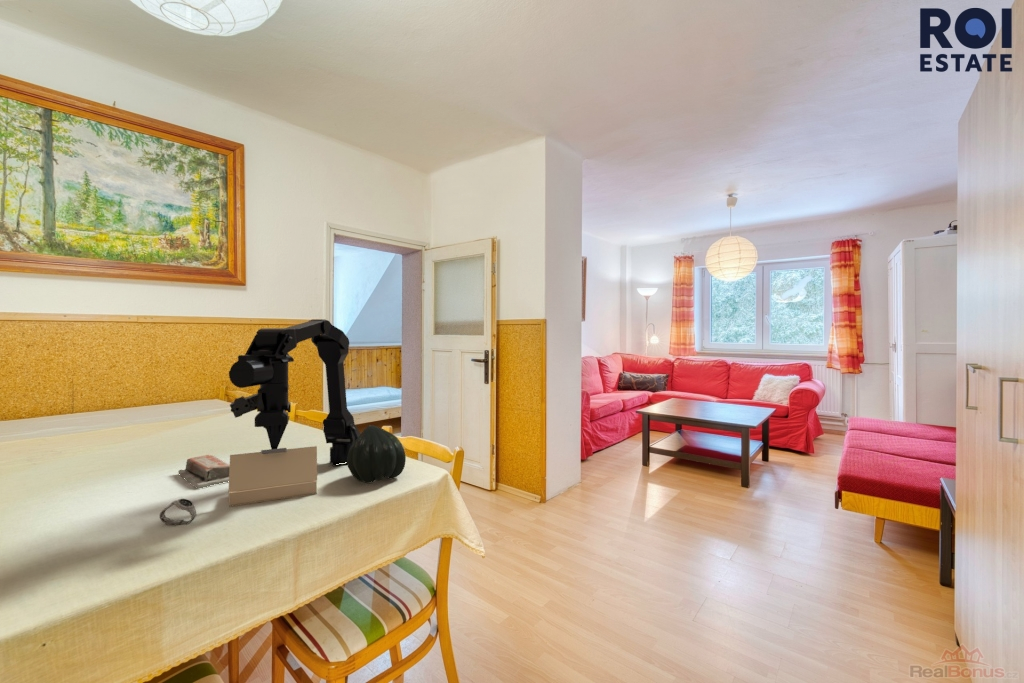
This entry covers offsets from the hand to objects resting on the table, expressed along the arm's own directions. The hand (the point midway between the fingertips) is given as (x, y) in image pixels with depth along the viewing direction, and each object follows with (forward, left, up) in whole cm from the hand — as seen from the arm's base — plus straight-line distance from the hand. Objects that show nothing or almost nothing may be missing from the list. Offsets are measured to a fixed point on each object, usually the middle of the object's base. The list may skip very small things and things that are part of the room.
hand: (274, 449), depth 98 cm
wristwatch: (+17, +4, -13) cm, 22 cm away
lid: (0, -3, -5) cm, 6 cm away
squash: (-24, -7, -13) cm, 28 cm away
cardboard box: (0, -5, -12) cm, 14 cm away
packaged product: (+17, -28, -13) cm, 35 cm away
